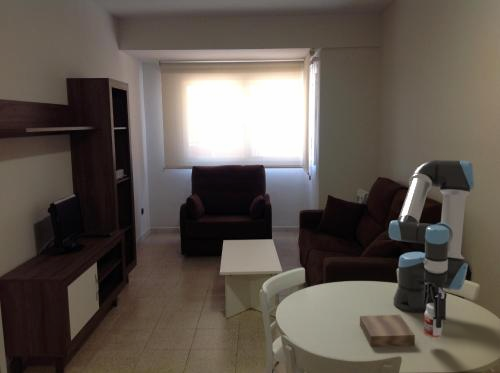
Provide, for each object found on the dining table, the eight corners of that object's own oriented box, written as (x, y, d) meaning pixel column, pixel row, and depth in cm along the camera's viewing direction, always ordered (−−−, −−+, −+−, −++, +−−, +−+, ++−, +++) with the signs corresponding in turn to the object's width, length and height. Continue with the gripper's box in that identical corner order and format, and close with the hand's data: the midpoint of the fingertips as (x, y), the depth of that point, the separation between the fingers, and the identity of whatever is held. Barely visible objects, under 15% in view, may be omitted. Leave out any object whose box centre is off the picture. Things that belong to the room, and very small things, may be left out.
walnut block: (399, 324, 176) (399, 314, 176) (414, 345, 161) (414, 335, 160) (359, 325, 176) (359, 316, 176) (370, 346, 161) (370, 336, 160)
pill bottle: (421, 335, 159) (422, 306, 157) (427, 328, 164) (428, 300, 162) (438, 341, 155) (440, 311, 153) (444, 333, 160) (445, 304, 158)
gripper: (414, 260, 164) (412, 317, 168) (436, 280, 145) (433, 344, 150) (434, 259, 164) (432, 316, 168) (459, 280, 145) (455, 343, 150)
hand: (433, 329), depth 159 cm, fingers closed on pill bottle, 6 cm apart
